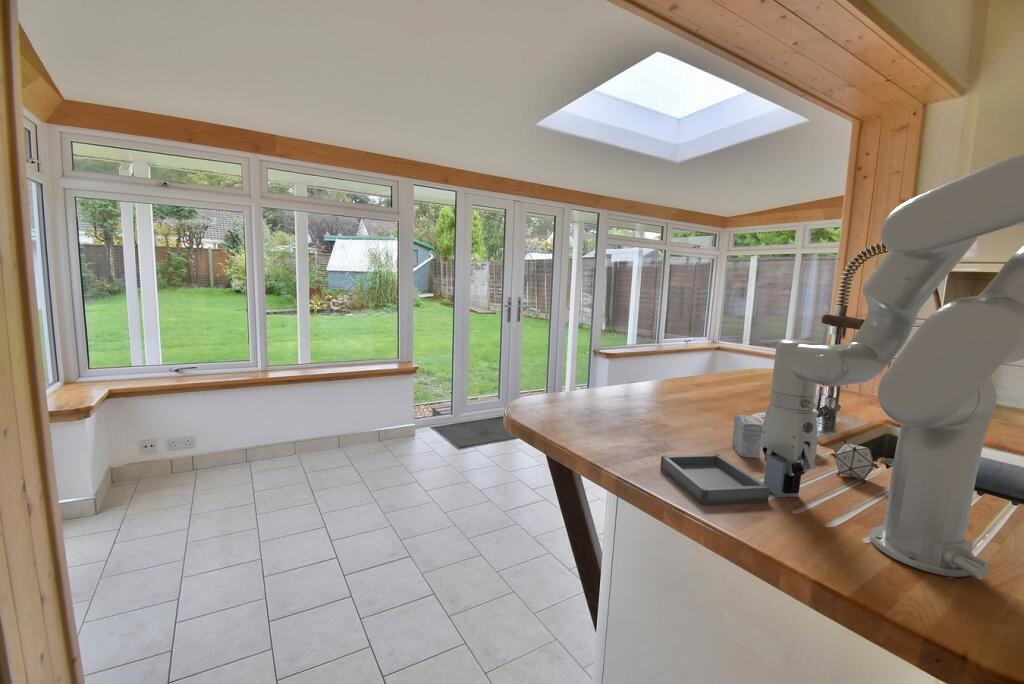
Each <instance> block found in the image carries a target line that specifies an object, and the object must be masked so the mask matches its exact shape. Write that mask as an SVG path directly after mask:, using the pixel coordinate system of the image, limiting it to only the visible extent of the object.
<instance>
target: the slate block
mask: <svg viewBox="0 0 1024 684" xmlns="http://www.w3.org/2000/svg"><path fill="white" fill-rule="evenodd" d="M796 466H797V463H794V468H795V467H796ZM785 474H788V473H787V459H786V458H784V457H782V456H780V455H767V459H766V462H765V468H764V476H763V484H765V485H767V486H768V487H770V491H769V493H772V494H773V495H774V496H776V497H778V498H788V496H789V497H790V498H791V497H792V496H793V497H799V495H800V491H799V492H798V493H792V494H785V493H784V492H783V485H784V477H785ZM801 479H802V478H801ZM801 479H800V482H801ZM800 487H801V485H800V486H799V490H800Z"/></svg>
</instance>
